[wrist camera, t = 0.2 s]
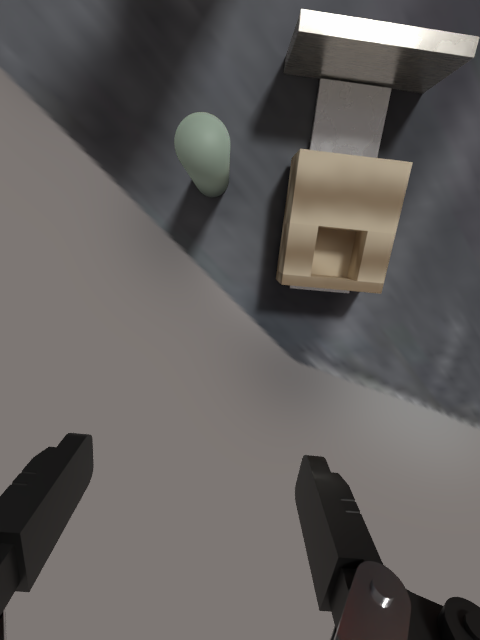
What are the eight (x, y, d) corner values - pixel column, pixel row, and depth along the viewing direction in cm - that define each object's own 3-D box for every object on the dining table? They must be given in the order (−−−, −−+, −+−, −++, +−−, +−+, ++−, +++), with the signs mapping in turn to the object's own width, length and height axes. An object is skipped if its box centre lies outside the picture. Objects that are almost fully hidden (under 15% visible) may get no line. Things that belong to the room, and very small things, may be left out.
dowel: (195, 158, 33) (175, 108, 20) (230, 162, 34) (232, 116, 20) (194, 195, 35) (173, 172, 21) (227, 199, 35) (227, 178, 21)
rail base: (285, 57, 31) (301, 8, 24) (426, 77, 32) (479, 36, 25) (259, 284, 38) (265, 295, 31) (376, 295, 39) (406, 307, 32)
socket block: (291, 158, 33) (300, 148, 29) (391, 170, 34) (412, 162, 30) (275, 279, 37) (281, 284, 33) (365, 287, 38) (381, 293, 34)
